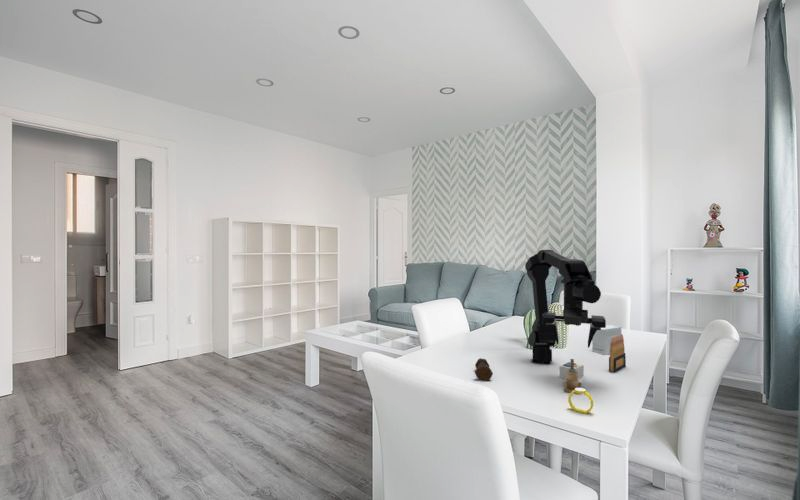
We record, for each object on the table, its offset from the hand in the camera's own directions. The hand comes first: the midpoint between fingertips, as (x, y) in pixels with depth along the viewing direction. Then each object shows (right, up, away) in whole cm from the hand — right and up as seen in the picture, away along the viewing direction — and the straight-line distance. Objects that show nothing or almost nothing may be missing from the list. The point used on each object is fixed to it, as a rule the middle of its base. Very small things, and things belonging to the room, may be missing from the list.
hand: (572, 345), depth 126 cm
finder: (+1, -12, +4) cm, 12 cm away
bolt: (-28, -12, +8) cm, 31 cm away
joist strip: (0, -11, 0) cm, 11 cm away
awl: (-3, -11, -7) cm, 14 cm away
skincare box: (+30, -11, +35) cm, 47 cm away
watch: (-9, -12, -24) cm, 28 cm away
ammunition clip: (+21, -12, +11) cm, 26 cm away
